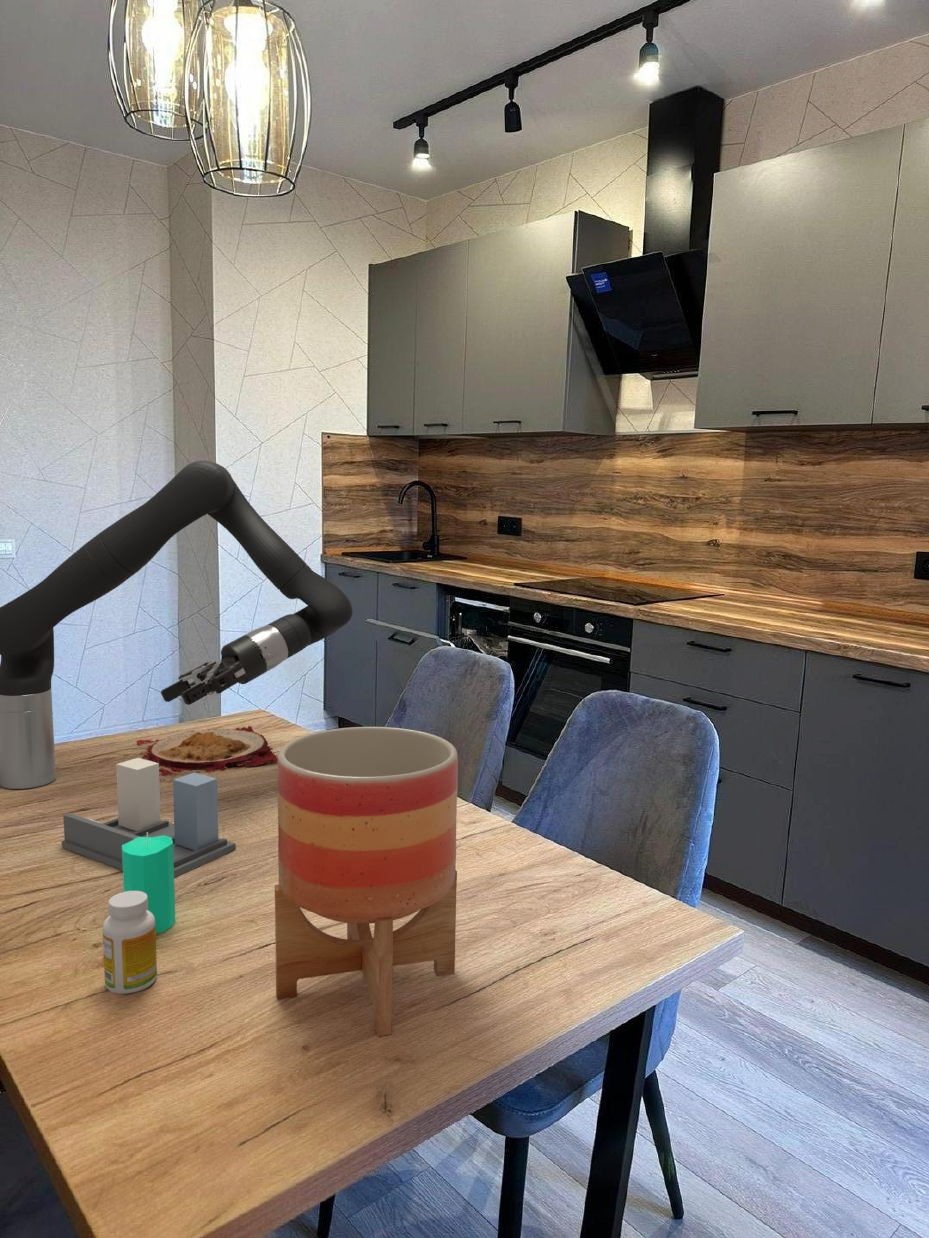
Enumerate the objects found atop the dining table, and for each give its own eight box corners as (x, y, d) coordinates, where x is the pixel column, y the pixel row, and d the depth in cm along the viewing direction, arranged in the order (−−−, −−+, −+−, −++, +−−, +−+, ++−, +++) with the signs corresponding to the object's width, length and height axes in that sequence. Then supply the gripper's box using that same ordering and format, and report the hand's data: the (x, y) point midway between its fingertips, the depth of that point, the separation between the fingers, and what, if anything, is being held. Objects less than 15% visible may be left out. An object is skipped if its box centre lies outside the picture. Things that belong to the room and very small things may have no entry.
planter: (479, 1021, 88) (485, 771, 85) (283, 1052, 83) (281, 786, 79) (431, 928, 107) (435, 720, 103) (269, 948, 102) (267, 729, 98)
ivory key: (118, 825, 135) (116, 764, 133) (139, 817, 138) (137, 757, 137) (139, 832, 132) (137, 769, 131) (160, 823, 136) (158, 763, 134)
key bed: (61, 847, 129) (60, 815, 128) (139, 818, 141) (138, 789, 140) (159, 883, 118) (158, 849, 117) (235, 849, 130) (235, 818, 129)
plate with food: (251, 734, 195) (251, 719, 194) (280, 765, 171) (279, 747, 170) (136, 747, 184) (135, 731, 183) (150, 782, 160) (149, 763, 160)
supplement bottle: (165, 969, 97) (163, 888, 95) (143, 997, 91) (140, 911, 90) (120, 966, 97) (116, 885, 96) (95, 993, 92) (91, 908, 90)
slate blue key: (174, 843, 128) (172, 779, 127) (195, 835, 132) (194, 772, 130) (197, 851, 126) (196, 786, 124) (218, 842, 129) (217, 778, 128)
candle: (185, 916, 109) (183, 826, 107) (154, 939, 103) (150, 845, 101) (146, 908, 111) (143, 820, 109) (113, 930, 105) (109, 837, 103)
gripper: (228, 634, 154) (147, 676, 144) (266, 634, 143) (181, 679, 133) (245, 671, 156) (166, 715, 146) (283, 673, 145) (201, 721, 135)
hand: (173, 698), depth 140 cm, fingers open, 8 cm apart
